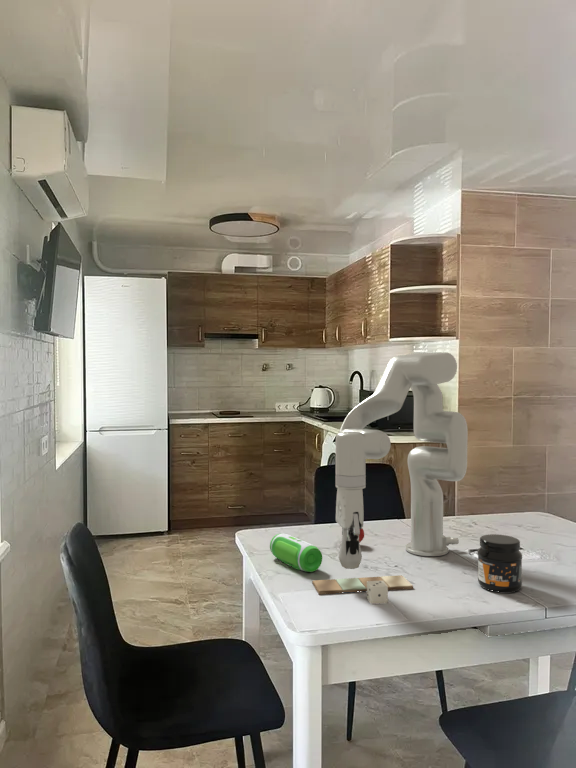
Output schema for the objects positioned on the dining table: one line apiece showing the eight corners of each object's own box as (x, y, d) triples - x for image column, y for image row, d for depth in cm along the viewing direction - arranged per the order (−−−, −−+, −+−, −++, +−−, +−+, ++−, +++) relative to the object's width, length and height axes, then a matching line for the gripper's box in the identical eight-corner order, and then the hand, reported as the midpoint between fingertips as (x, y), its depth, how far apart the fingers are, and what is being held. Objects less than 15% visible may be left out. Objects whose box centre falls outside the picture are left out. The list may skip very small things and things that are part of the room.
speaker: (324, 571, 160) (324, 544, 160) (301, 576, 156) (301, 548, 156) (289, 555, 175) (289, 530, 175) (268, 559, 171) (268, 533, 171)
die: (383, 597, 141) (383, 579, 141) (387, 603, 137) (387, 586, 137) (366, 597, 141) (366, 580, 141) (370, 604, 137) (370, 586, 137)
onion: (343, 547, 183) (343, 521, 183) (348, 542, 188) (348, 517, 188) (361, 549, 181) (361, 523, 181) (366, 544, 186) (366, 518, 186)
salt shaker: (346, 571, 144) (346, 518, 144) (334, 564, 149) (334, 513, 149) (366, 568, 147) (366, 515, 147) (353, 561, 152) (353, 511, 152)
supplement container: (470, 587, 147) (470, 539, 147) (487, 576, 156) (487, 531, 155) (513, 597, 141) (513, 547, 141) (528, 585, 149) (528, 538, 149)
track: (402, 578, 154) (402, 575, 154) (413, 588, 147) (413, 585, 147) (312, 583, 151) (312, 580, 151) (318, 594, 143) (318, 591, 143)
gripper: (328, 476, 155) (328, 546, 155) (344, 487, 139) (344, 565, 139) (356, 475, 156) (355, 544, 157) (374, 486, 140) (374, 563, 140)
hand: (350, 553), depth 148 cm, fingers closed on salt shaker, 3 cm apart
